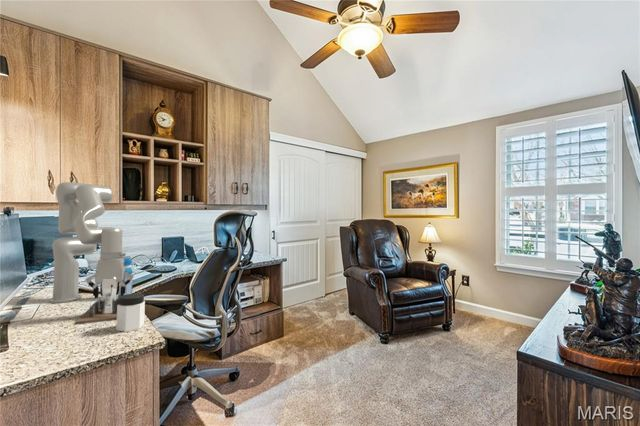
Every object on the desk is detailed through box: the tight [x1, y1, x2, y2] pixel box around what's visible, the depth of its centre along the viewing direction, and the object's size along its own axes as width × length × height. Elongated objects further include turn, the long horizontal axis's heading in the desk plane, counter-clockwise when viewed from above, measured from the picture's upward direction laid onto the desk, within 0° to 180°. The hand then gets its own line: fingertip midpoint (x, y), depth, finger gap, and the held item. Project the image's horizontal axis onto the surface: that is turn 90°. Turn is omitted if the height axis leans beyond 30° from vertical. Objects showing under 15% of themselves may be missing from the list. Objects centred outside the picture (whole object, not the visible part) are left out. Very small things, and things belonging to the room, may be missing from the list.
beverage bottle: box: [118, 258, 134, 299], centre depth 150 cm, size 8×8×20 cm
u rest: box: [74, 299, 119, 325], centre depth 124 cm, size 20×18×5 cm
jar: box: [115, 293, 146, 333], centre depth 109 cm, size 9×8×12 cm
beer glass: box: [99, 278, 120, 314], centre depth 123 cm, size 7×7×15 cm
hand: (109, 296), depth 123 cm, fingers open, 8 cm apart
